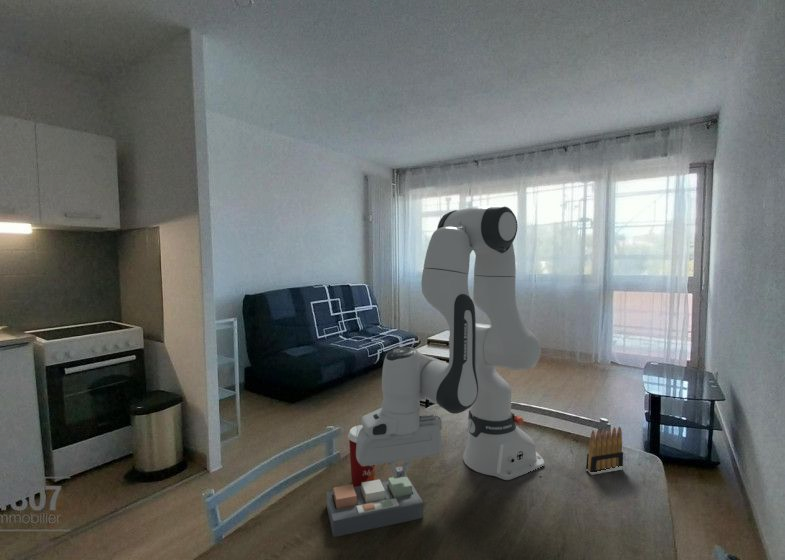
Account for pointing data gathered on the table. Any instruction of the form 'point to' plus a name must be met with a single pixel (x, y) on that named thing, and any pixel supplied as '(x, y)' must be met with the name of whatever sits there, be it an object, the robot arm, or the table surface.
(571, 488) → the table surface
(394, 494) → the key sage
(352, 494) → the key terracotta
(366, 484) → the key white
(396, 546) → the table surface
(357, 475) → the paper cup
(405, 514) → the keypad housing
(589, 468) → the ammunition clip
